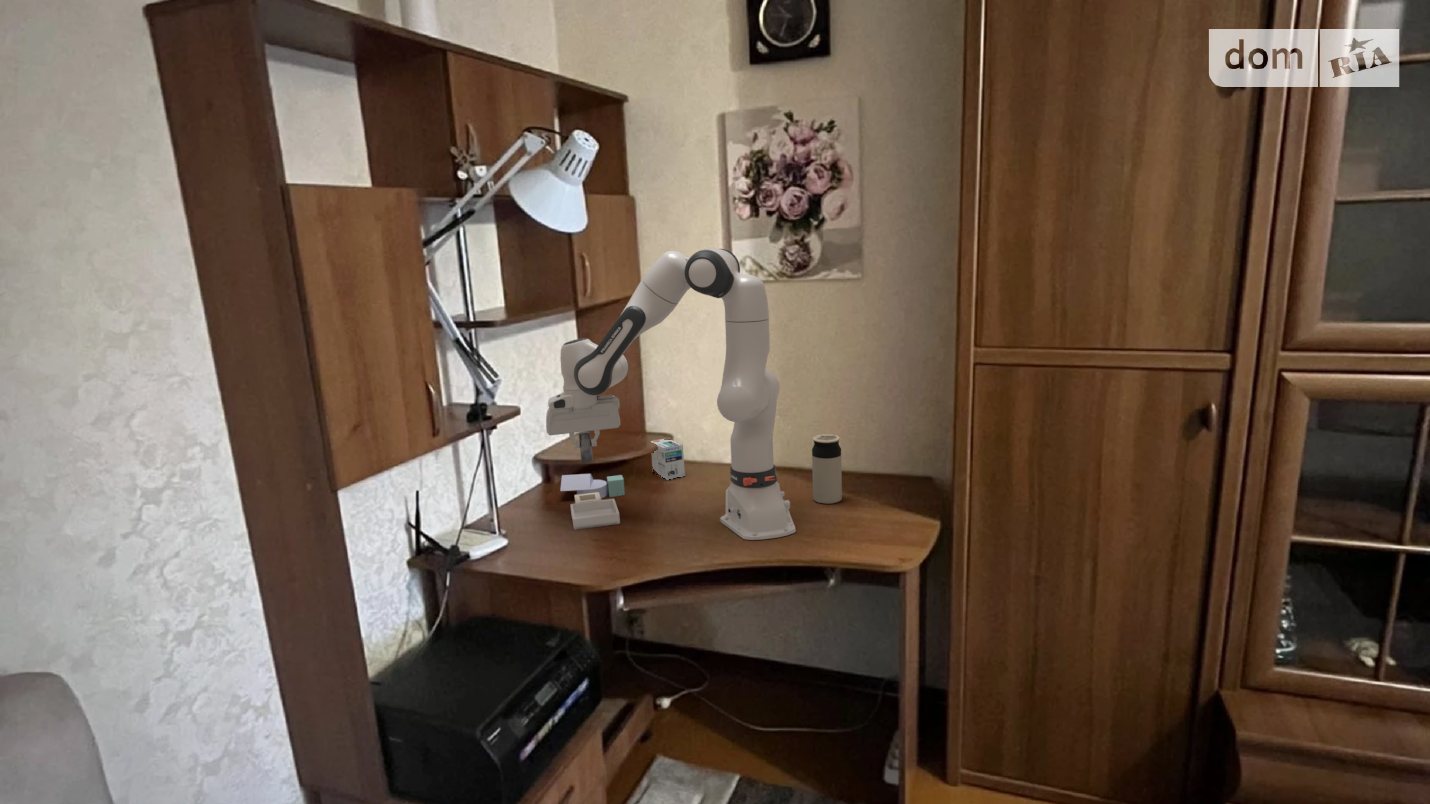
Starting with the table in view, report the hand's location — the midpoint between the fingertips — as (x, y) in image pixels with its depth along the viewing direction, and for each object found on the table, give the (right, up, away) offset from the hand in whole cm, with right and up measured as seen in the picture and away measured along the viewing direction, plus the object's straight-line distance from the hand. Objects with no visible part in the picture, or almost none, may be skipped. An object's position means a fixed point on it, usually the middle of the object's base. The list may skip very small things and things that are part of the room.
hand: (585, 446), depth 215 cm
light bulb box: (+21, -11, +32) cm, 40 cm away
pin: (0, -4, +1) cm, 4 cm away
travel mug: (+67, -15, +2) cm, 69 cm away
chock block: (+6, -15, +17) cm, 23 cm away
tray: (+3, -20, -3) cm, 20 cm away
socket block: (0, -18, +6) cm, 19 cm away
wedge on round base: (-3, -16, +17) cm, 23 cm away
